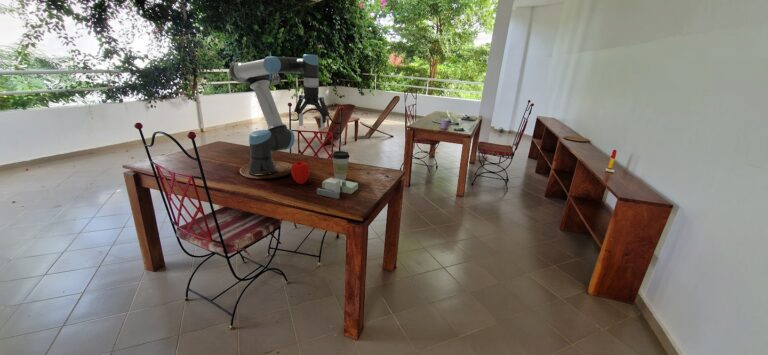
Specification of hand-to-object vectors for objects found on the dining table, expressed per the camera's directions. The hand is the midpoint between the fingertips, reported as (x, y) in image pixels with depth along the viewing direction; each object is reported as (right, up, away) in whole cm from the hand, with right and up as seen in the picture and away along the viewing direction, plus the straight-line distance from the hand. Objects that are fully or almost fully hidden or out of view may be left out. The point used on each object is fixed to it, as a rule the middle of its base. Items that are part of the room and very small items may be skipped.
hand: (311, 127), depth 176 cm
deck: (+14, -34, -6) cm, 37 cm away
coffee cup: (+14, -28, +11) cm, 33 cm away
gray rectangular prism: (+13, -35, -10) cm, 38 cm away
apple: (-6, -30, +1) cm, 31 cm away
